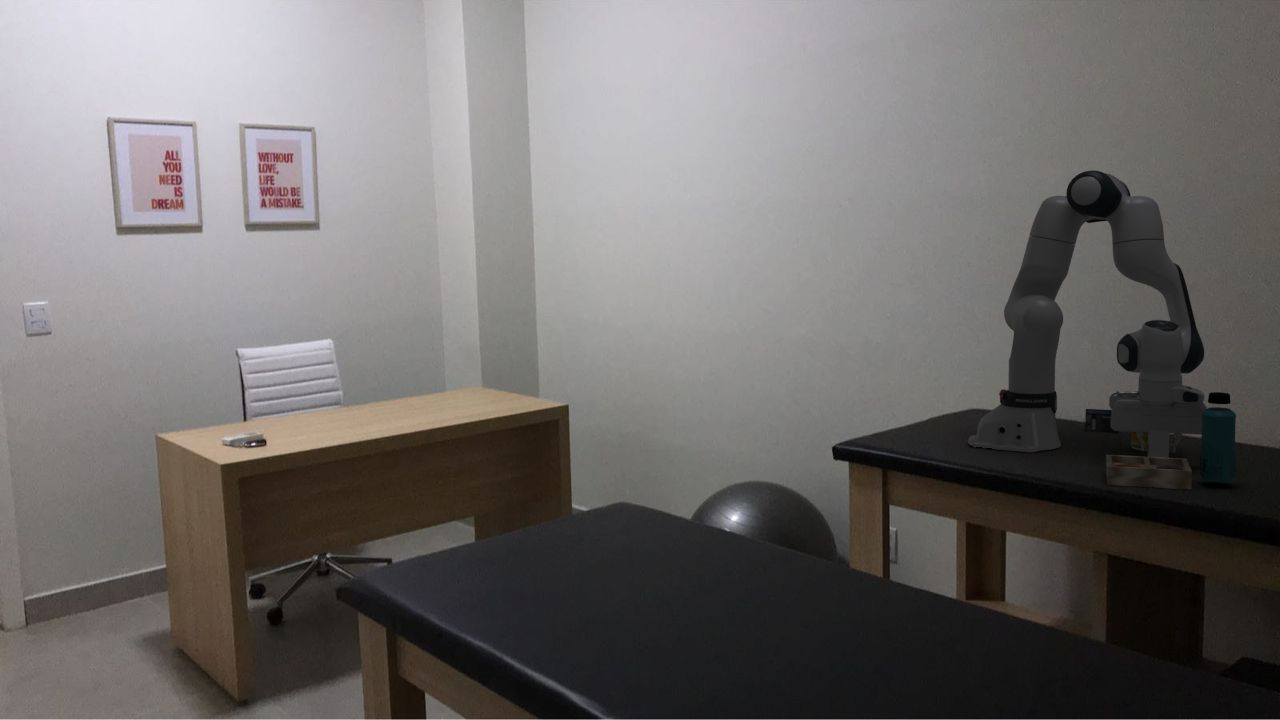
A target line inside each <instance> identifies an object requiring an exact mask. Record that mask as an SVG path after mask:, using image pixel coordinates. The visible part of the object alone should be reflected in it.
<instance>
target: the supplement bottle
mask: <svg viewBox="0 0 1280 720" xmlns="http://www.w3.org/2000/svg"><path fill="white" fill-rule="evenodd" d="M1142 439H1143V440H1144V442H1146V443H1148V432H1144V436H1143V437H1142ZM1130 445H1131V446H1130V447H1131V449H1133V450H1134V451H1135V450H1136V451H1141V452H1143V451H1142V450H1141V442H1140V441H1139V439H1138V437H1137V435H1136V432H1131V443H1130Z"/></svg>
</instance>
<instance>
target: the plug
mask: <svg viewBox="0 0 1280 720" xmlns="http://www.w3.org/2000/svg"><path fill="white" fill-rule="evenodd" d="M1148 443H1149V447H1148V448H1149V451H1147V457H1163V458H1170V457H1169V456H1170V454H1169V453H1170V452H1169V444H1170V433H1169V430H1150V431H1149V432H1148Z"/></svg>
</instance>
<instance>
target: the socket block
mask: <svg viewBox="0 0 1280 720" xmlns="http://www.w3.org/2000/svg"><path fill="white" fill-rule="evenodd" d="M1105 476H1106V485H1107V486H1122V487H1124V486H1125V487H1135V488H1136V487H1137V486H1138V488H1140V487H1141V488H1152V487H1153V489H1154V488H1157V489H1168V490H1169V489H1171V490H1173V489H1175V490H1185V489H1187V490H1188V491H1192V478H1193V471H1192V468H1191V466H1190V464H1189V462H1188V459H1187V458H1184V457H1183V458H1180V457H1179V458H1178V457H1169V458H1163V457H1148V456H1142V455H1141V456H1140V455H1139V456H1138V455H1123V454H1122V455H1121V454H1119V455H1118V454H1105ZM1187 490H1186V491H1187Z"/></svg>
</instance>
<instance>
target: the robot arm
mask: <svg viewBox="0 0 1280 720" xmlns="http://www.w3.org/2000/svg"><path fill="white" fill-rule="evenodd" d="M1065 192H1066V194H1065V195H1054V196H1053V195H1052V196H1049V197H1047V198H1045V199H1044V200H1043V201H1042V202H1041V204H1040V206H1039V208H1038V211H1037V212H1036V215H1035V217H1034V220H1033V223H1032V225H1031V229H1030V233H1029V236H1028V239H1027V243H1026V246H1025V250H1024V254H1023V258H1022V262H1021V265H1020V269H1019V272H1018V274H1017V276H1016V279H1015V281H1014V284H1013V286H1012V289H1011V291H1010V293H1009V296H1008V300H1007V302H1006V303H1005V306H1004V309H1003V316H1004V320H1005V323H1006V325H1007V327H1008V328H1010V329H1011V330H1012V331H1013V339H1012V344H1011V350H1010V356H1009V359H1008V389H1006V388H1005V389H1001V390H999V394H998V395H999V402H1000V403H999V405H997V406H996V407H994V408H993V409H992V410H990V411H989V412H988V413H986V414H984V415H983V416H982V417H981V419H980V420H979V422H978V425H977V428H976V434H973V435H970V436H969V437H968V439H967V444H969V445H971V446H973V447H972V448H976V447H982V448H981V449H986V448H992V449H991V450H998V451H1009V452H1011V451H1012V452H1021V453H1022V452H1023V453H1036V452H1039V451H1049V450H1055V449H1058V448H1060V447H1061V446H1062V444H1061V441H1060V437H1059V433H1058V428H1057V427H1058V426H1057V420H1056V418H1057V417H1056V414H1057V410H1058V395H1057V391H1056V390H1055V389H1056V388H1055V387H1056V359H1057V352H1058V348H1059V341H1060V335H1061V330H1062V329H1061V328H1062V327H1063V324H1064V314H1063V310H1062V309H1061V307H1060V305H1059V304H1058V303H1057V301H1055V300H1056V297H1057V295H1058V293H1059V291H1060V289H1061V286H1062V285H1063V282H1064V281H1065V279H1066V278H1067V276H1068V274H1069V269H1070V267H1071V262H1072V260H1073V259H1072V258H1073V255H1074V251H1075V247H1076V243H1077V240H1078V236H1079V233H1080V229H1081V227H1082V226H1083V225H1084V224H1085V223H1087V224H1093V223H1099V222H1101V223H1102V222H1108V224H1109V226H1110V229H1111V240H1112V241H1111V242H1112V243H1111V244H1112V245H1111V246H1112V257H1113V258H1112V259H1113V262H1114V266H1115V268H1116V270H1117V271H1118V272H1119V273H1120V274H1121V275H1122V276H1124V277H1125V278H1127V279H1129V280H1131V281H1133V282H1136V283H1138V284H1139V283H1140V284H1142V285H1146V286H1148V287H1150V288H1153V289H1154V290H1156V291H1158V292H1159V293H1160V294H1161V295H1162V296H1163V298H1164V300H1165V303H1166V307H1167V313H1168V316H1169V320H1163V319H1154V320H1153V319H1152V320H1148V321H1146V322H1144V323H1143V324H1142V325H1141V328H1140V329H1139V330H1136V331H1134V332H1131V333H1130V332H1129V333H1126V334H1125V335H1123V336H1122V337H1121V338H1120V340H1119V341H1118V343H1117V344H1116V345H1117V346H1116V361H1117V363H1118V365H1120V367H1121V368H1122V369H1123V370H1125V371H1127V372H1130V373H1135V374H1136V373H1137V374H1138V373H1139V375H1138V386H1137V387H1138V389H1137V391H1136V390H1135V391H1134V390H1133V391H1132V390H1131V391H1123V390H1117V391H1116V392H1113V393H1112V394H1110V396H1109V403H1108V405H1109V407H1110V410H1112V413H1111V422H1110V426H1111V428H1112V429H1113V430H1114V431H1119V432H1131V433H1132V432H1136V435H1137V437H1138V439H1139V441H1140V442H1141V450H1142V451H1141V452H1148V451H1149V448H1148V447H1149V443H1146V442H1144V440H1143V439H1142V437H1143V436H1144V432H1149V431H1150V430H1169V434H1173V437H1174V439H1173V441H1172V443H1169V453H1176V449H1177V448H1176V446H1178V443H1180V441H1181V440H1182V434H1183V435H1184V434H1185V435H1202V431H1201V430H1202V413H1203V412H1204V411H1205V410H1206V409H1208V407H1207V406H1206V404H1205V403H1204V401H1205V393H1204V392H1203V391H1202V390H1201V389H1198V388H1195V387H1191V386H1188V385H1185V384H1183V375H1182V374H1186V375H1187V374H1190V373H1192V372H1193V371H1195V370H1196V369H1197V368H1198V367H1199V366H1200V365H1201V364H1202V362H1203V361H1204V358H1205V348H1204V344H1203V343H1204V342H1203V341H1202V338H1201V336H1200V332H1199V331H1198V328H1197V324H1196V320H1195V315H1194V311H1193V308H1192V303H1191V300H1190V295H1189V289H1188V287H1187V283H1186V279H1185V277H1184V273H1183V271H1182V268H1181V267H1180V265H1179V264H1177V263H1175V262H1173V261H1172V259H1171V257H1170V256H1169V254H1168V252H1167V249H1166V245H1165V233H1164V224H1163V220H1162V219H1163V218H1162V215H1161V211H1160V208H1159V204H1158V203H1157V202H1156V201H1155V200H1154V199H1153V198H1151V197H1149V196H1145V195H1135V196H1131V192H1130V188H1129V187H1128V185H1126V183H1124V181H1123V180H1121V179H1119V178H1117V176H1115V175H1112V174H1110V173H1105V172H1102V171H1100V170H1093V169H1092V170H1085V171H1083V172H1080V173H1078V174H1077V175H1075V176H1074V177H1073V178H1072V179H1071V180H1070V182H1069V183H1068V185H1067V188H1066V191H1065ZM969 445H968V446H969ZM971 446H970V447H971Z"/></svg>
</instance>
